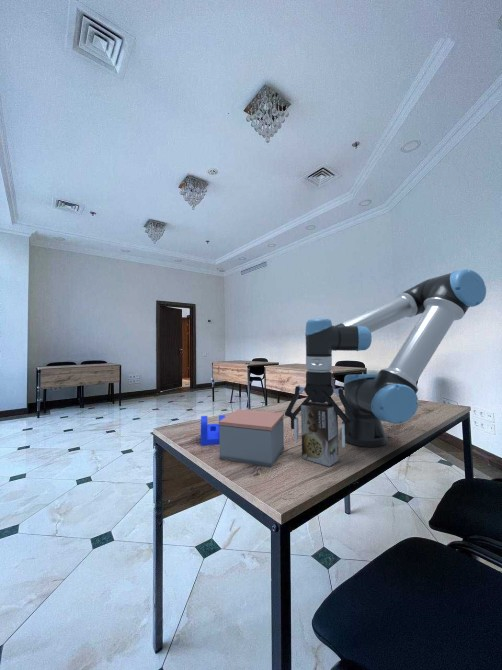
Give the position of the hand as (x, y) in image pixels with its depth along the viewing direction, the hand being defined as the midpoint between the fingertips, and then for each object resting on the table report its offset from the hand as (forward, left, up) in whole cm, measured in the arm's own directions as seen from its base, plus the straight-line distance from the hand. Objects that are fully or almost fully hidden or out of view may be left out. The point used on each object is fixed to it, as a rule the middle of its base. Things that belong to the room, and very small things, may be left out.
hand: (319, 442), depth 82 cm
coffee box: (0, 0, -5) cm, 5 cm away
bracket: (+40, -8, -5) cm, 41 cm away
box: (+20, +3, -5) cm, 21 cm away
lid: (+20, +3, +6) cm, 21 cm away
